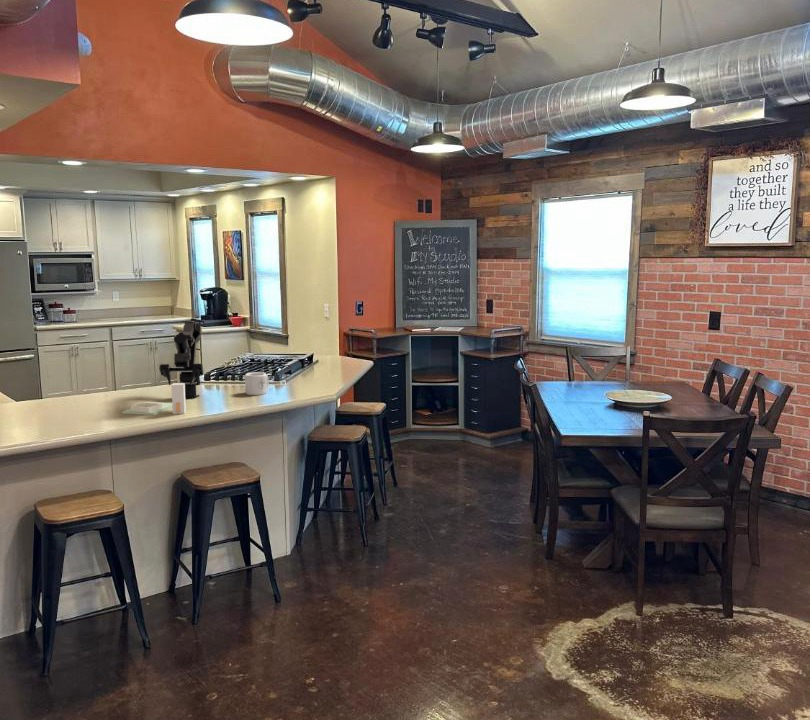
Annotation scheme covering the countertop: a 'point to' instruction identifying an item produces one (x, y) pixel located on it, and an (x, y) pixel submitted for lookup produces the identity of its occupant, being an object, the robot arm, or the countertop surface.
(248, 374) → the mug
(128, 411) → the board
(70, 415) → the countertop surface
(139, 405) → the white square frame
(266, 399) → the countertop surface
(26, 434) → the countertop surface
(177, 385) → the plug
